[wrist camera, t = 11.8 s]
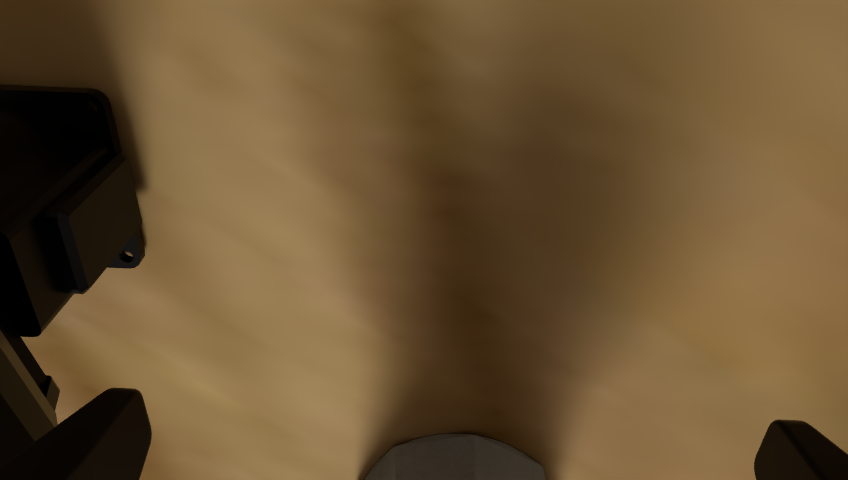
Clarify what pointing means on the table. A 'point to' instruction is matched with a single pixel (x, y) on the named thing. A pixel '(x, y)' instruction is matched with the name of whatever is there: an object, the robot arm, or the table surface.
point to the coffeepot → (455, 460)
